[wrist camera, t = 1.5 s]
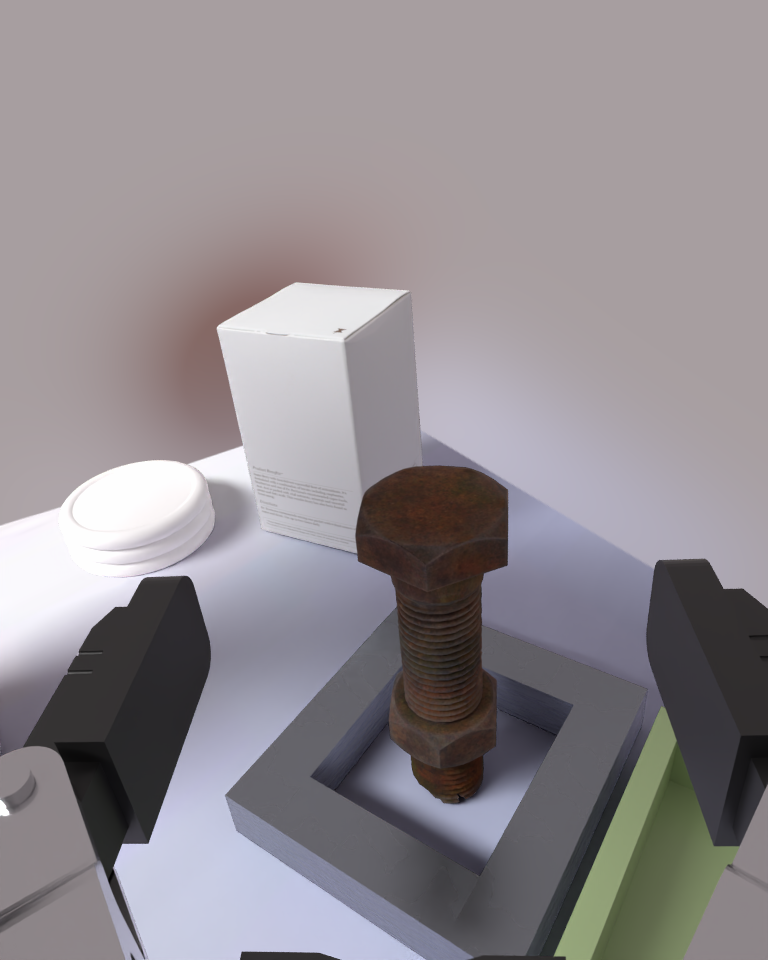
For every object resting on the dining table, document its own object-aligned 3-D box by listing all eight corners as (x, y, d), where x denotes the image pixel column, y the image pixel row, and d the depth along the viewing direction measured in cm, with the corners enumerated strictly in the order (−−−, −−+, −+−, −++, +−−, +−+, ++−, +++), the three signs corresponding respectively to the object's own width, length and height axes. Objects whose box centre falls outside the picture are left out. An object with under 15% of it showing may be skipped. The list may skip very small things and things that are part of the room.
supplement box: (429, 489, 53) (417, 287, 45) (371, 561, 46) (345, 340, 38) (323, 467, 57) (295, 278, 49) (256, 530, 50) (211, 324, 42)
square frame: (236, 830, 31) (225, 795, 30) (409, 629, 41) (406, 596, 39) (511, 1017, 25) (513, 982, 23) (641, 725, 34) (647, 689, 33)
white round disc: (210, 485, 56) (201, 446, 54) (223, 559, 48) (212, 516, 46) (77, 513, 54) (62, 474, 52) (66, 597, 46) (48, 553, 44)
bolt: (478, 712, 35) (474, 448, 27) (533, 797, 31) (547, 516, 23) (368, 756, 34) (329, 488, 26) (411, 850, 30) (381, 568, 22)
